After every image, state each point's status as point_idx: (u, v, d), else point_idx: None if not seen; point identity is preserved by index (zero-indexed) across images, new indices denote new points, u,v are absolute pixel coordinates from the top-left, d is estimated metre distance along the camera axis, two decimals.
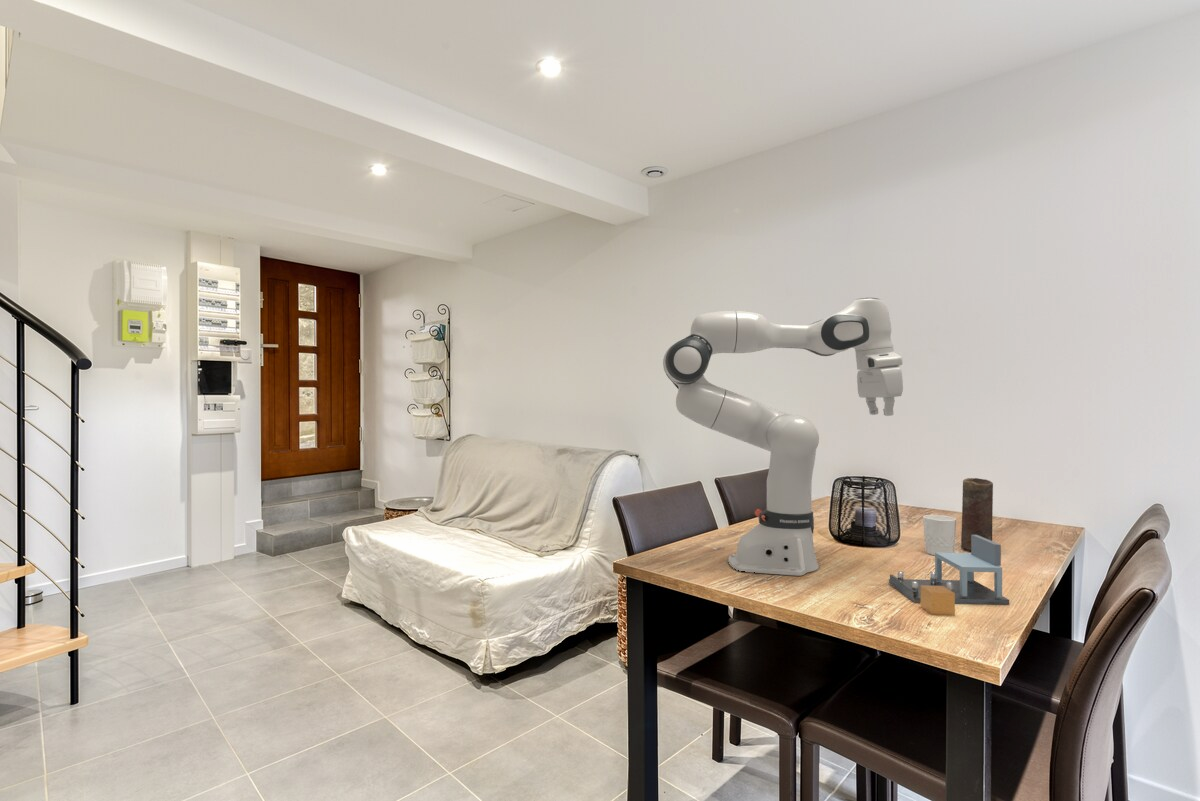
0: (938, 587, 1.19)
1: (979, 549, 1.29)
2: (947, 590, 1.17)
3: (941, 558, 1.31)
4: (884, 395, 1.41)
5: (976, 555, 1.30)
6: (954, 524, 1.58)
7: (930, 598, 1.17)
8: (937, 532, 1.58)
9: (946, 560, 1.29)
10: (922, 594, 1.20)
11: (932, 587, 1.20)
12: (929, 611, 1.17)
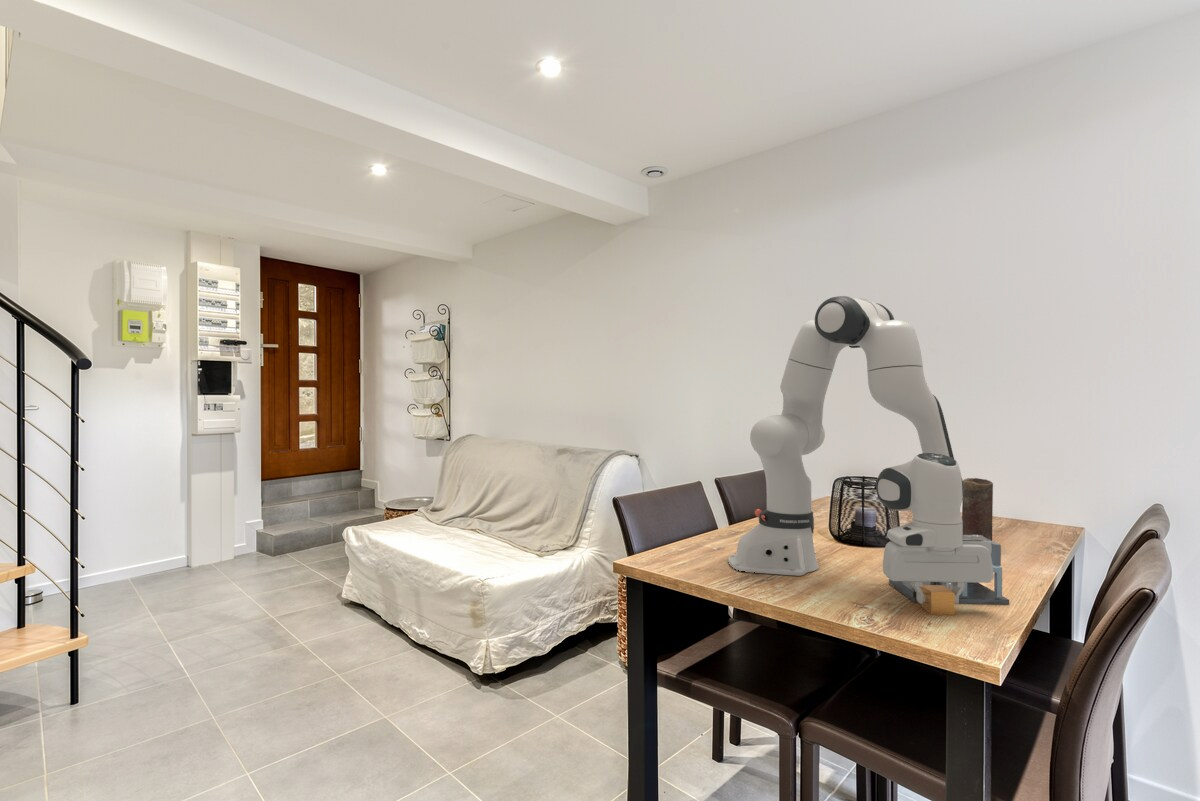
0: (938, 587, 1.19)
1: None
2: (947, 589, 1.17)
3: None
4: None
5: None
6: None
7: (930, 598, 1.17)
8: None
9: None
10: None
11: (932, 586, 1.20)
12: (929, 610, 1.17)
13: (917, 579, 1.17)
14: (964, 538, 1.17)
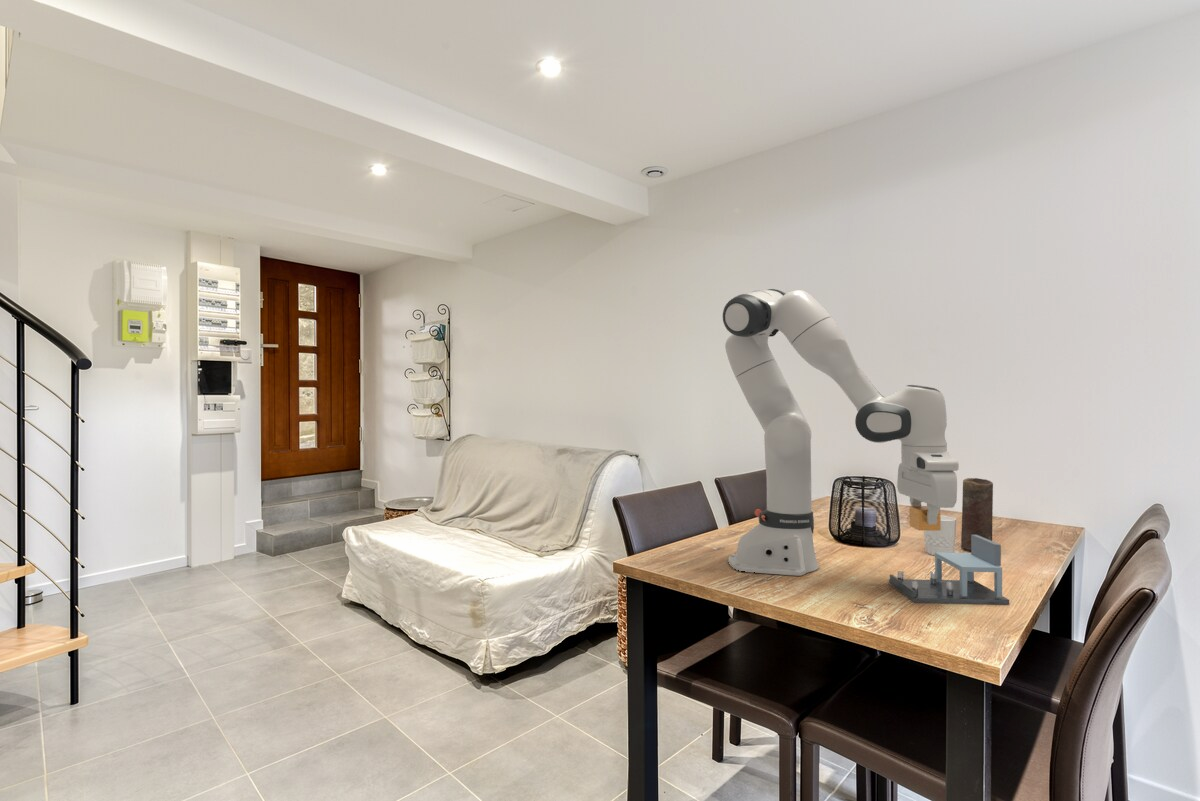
0: (919, 507, 1.30)
1: (979, 549, 1.29)
2: (924, 506, 1.31)
3: (941, 558, 1.31)
4: (933, 504, 1.21)
5: (976, 555, 1.30)
6: (954, 524, 1.58)
7: (938, 516, 1.27)
8: (937, 532, 1.58)
9: (946, 560, 1.29)
10: (922, 517, 1.27)
11: (919, 508, 1.29)
12: (937, 528, 1.27)
13: None
14: None
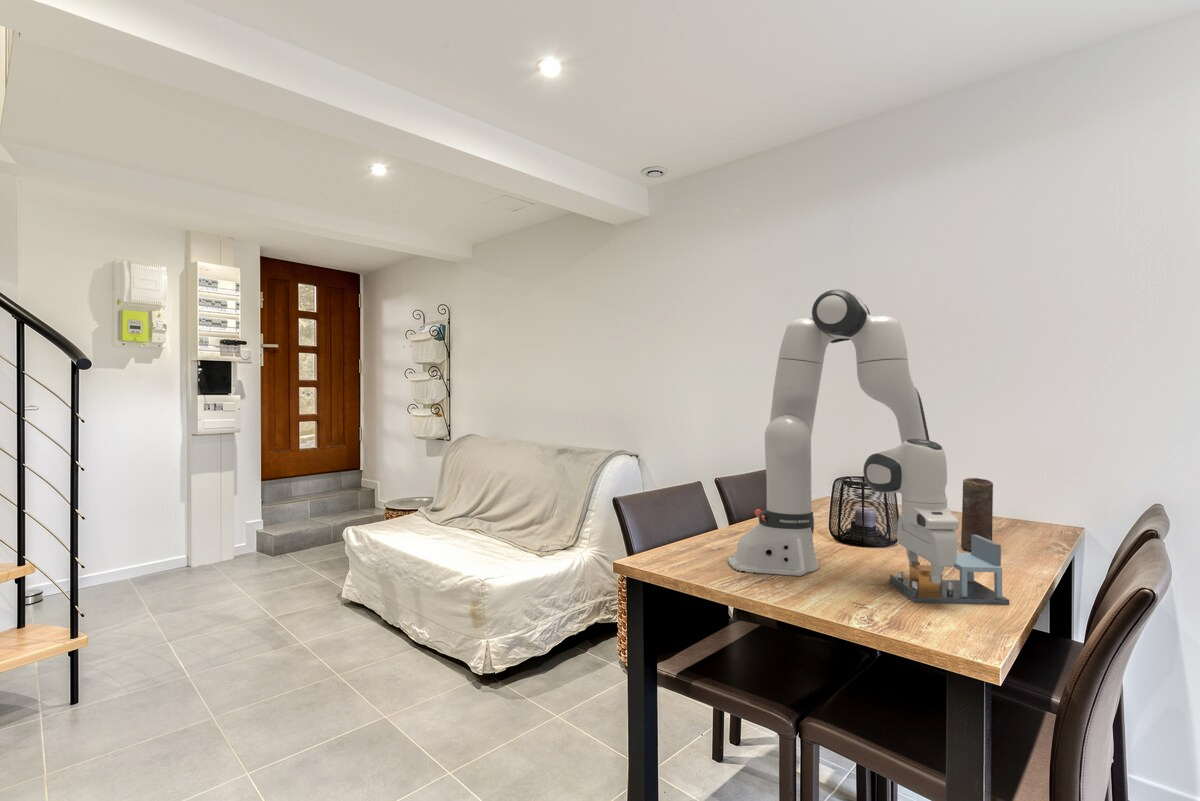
0: (919, 567, 1.30)
1: (979, 549, 1.29)
2: (924, 566, 1.31)
3: None
4: (933, 562, 1.21)
5: (976, 555, 1.30)
6: None
7: None
8: None
9: None
10: (922, 578, 1.27)
11: (919, 568, 1.29)
12: (937, 589, 1.27)
13: None
14: None
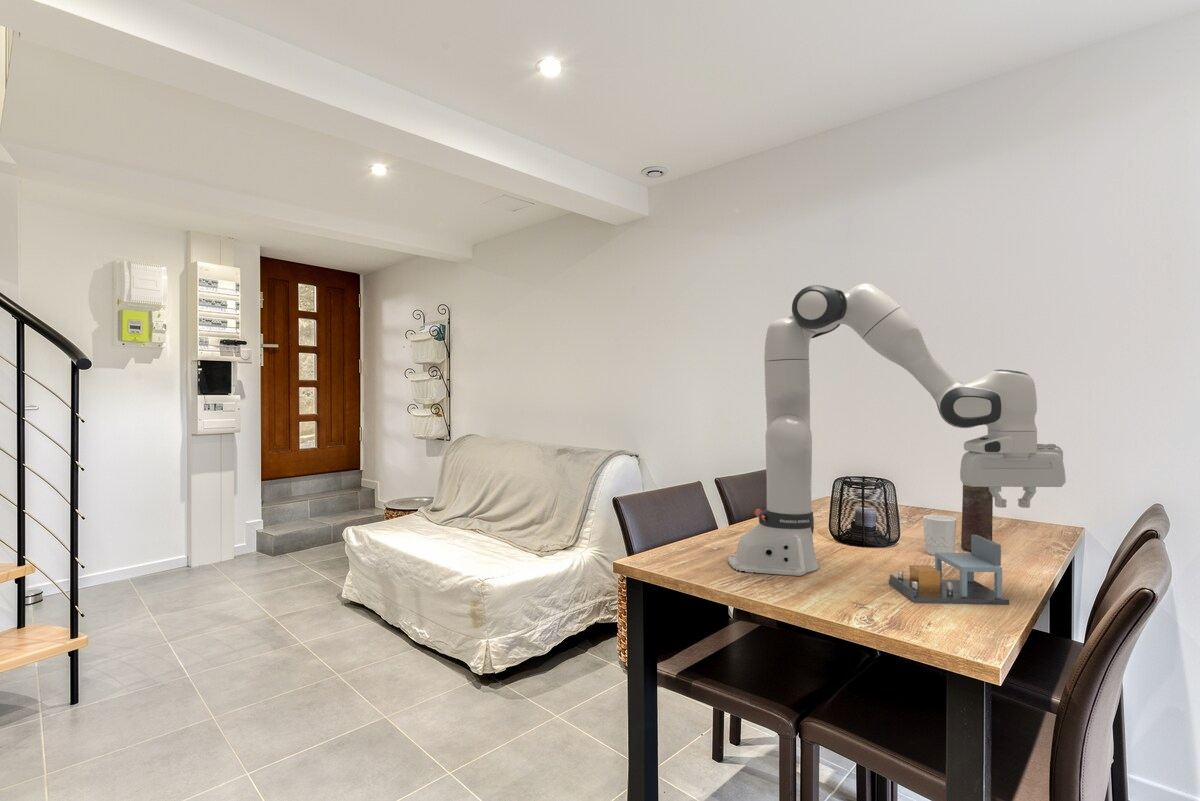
0: (919, 567, 1.30)
1: (979, 549, 1.29)
2: (924, 566, 1.31)
3: (941, 558, 1.31)
4: None
5: (976, 555, 1.30)
6: (954, 524, 1.58)
7: (938, 577, 1.27)
8: (937, 532, 1.58)
9: (946, 560, 1.29)
10: (922, 578, 1.27)
11: (919, 568, 1.29)
12: (937, 589, 1.27)
13: (994, 484, 1.26)
14: (1037, 446, 1.27)
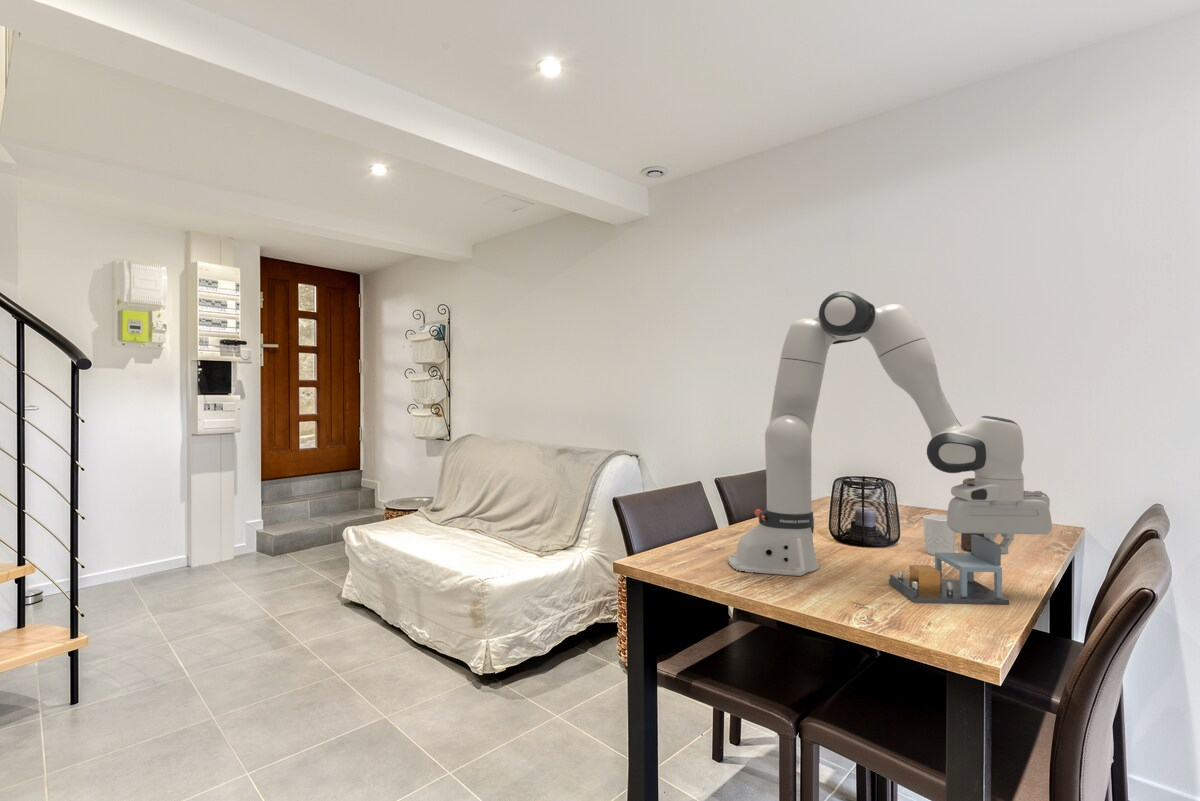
0: (919, 567, 1.30)
1: (979, 549, 1.29)
2: (924, 566, 1.31)
3: (941, 558, 1.31)
4: None
5: (976, 555, 1.30)
6: None
7: (938, 577, 1.27)
8: (937, 532, 1.58)
9: (946, 560, 1.29)
10: (922, 578, 1.27)
11: (919, 568, 1.29)
12: (937, 589, 1.27)
13: (981, 531, 1.26)
14: (1024, 494, 1.27)
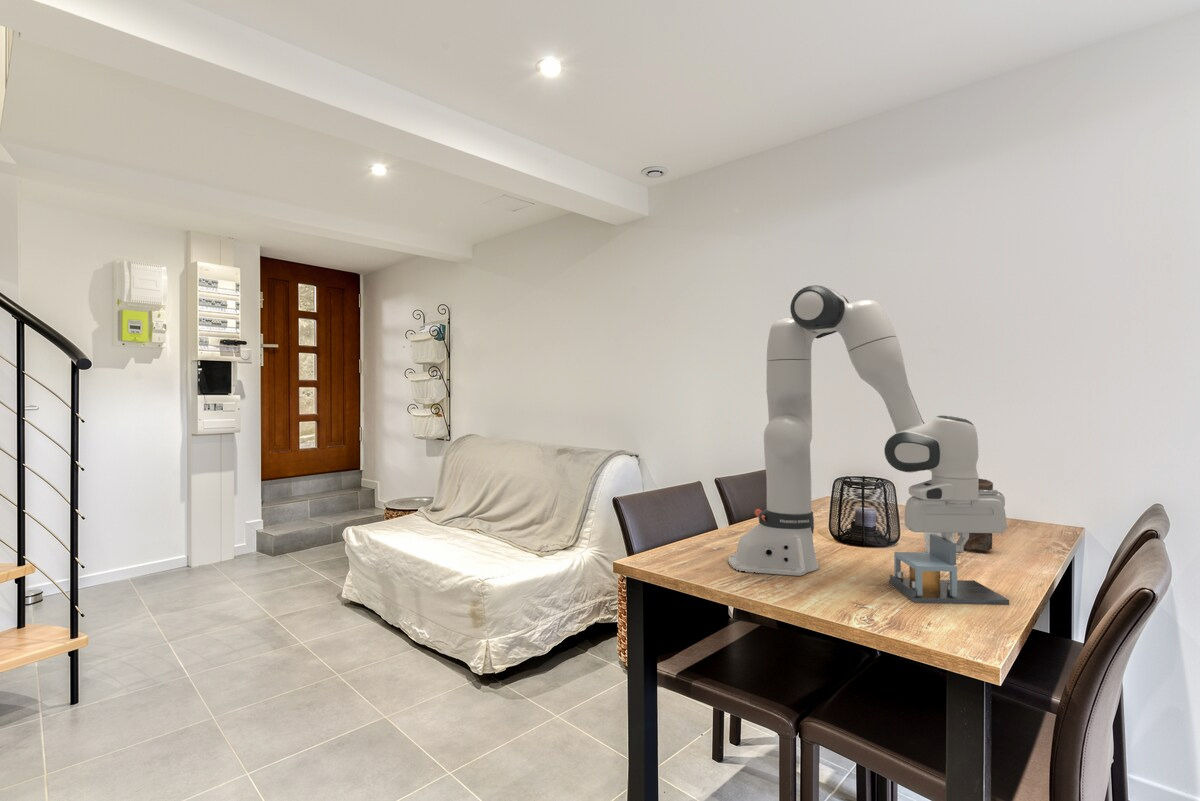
0: None
1: (937, 548, 1.30)
2: None
3: (899, 557, 1.32)
4: None
5: (934, 554, 1.31)
6: None
7: (938, 577, 1.27)
8: None
9: (904, 559, 1.30)
10: (922, 578, 1.27)
11: None
12: (937, 589, 1.27)
13: (936, 530, 1.27)
14: (980, 492, 1.28)
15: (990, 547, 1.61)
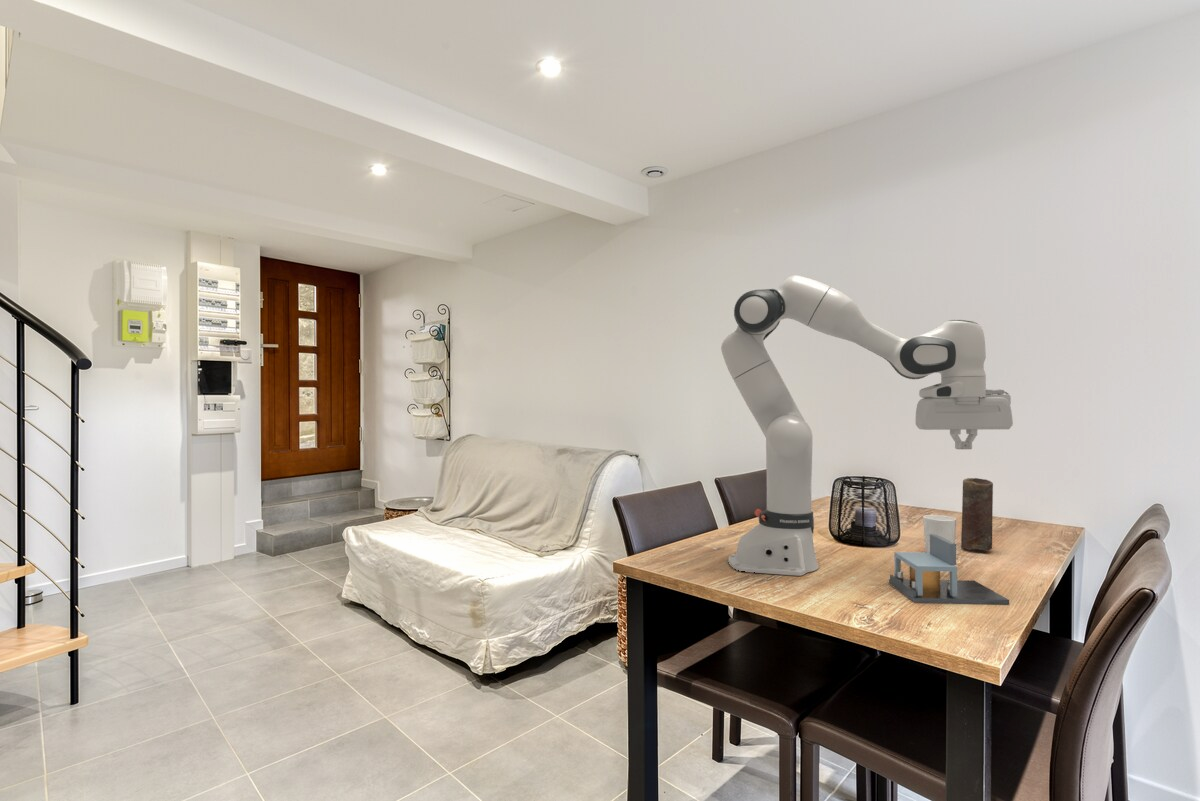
0: None
1: (937, 548, 1.30)
2: None
3: (899, 557, 1.32)
4: None
5: (934, 554, 1.31)
6: (954, 524, 1.58)
7: (938, 577, 1.27)
8: (937, 532, 1.58)
9: (904, 559, 1.30)
10: None
11: None
12: (937, 589, 1.27)
13: (946, 427, 1.35)
14: (987, 392, 1.35)
15: (990, 547, 1.61)
